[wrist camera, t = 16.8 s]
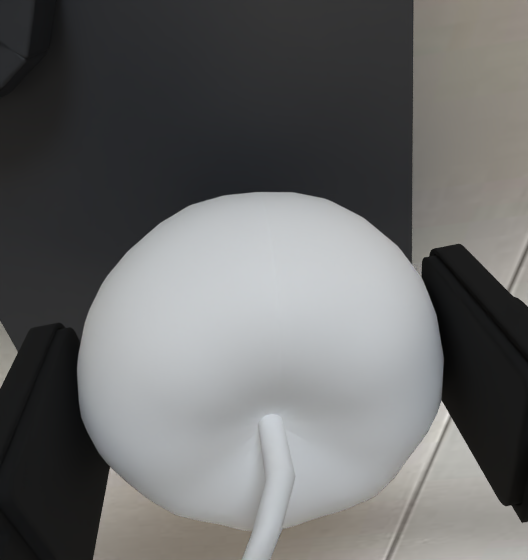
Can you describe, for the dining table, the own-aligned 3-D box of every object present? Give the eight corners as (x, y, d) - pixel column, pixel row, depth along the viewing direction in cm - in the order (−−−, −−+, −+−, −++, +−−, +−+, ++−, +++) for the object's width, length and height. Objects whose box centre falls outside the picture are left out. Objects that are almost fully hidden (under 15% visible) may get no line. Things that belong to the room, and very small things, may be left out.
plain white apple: (87, 143, 11) (-97, 414, 4) (393, 135, 12) (664, 356, 5) (131, 375, 15) (71, 718, 8) (360, 359, 15) (488, 660, 9)
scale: (-247, -164, 11) (-417, -219, 8) (388, -282, 11) (457, -380, 8) (46, 373, 20) (19, 443, 17) (396, 304, 20) (431, 361, 17)
